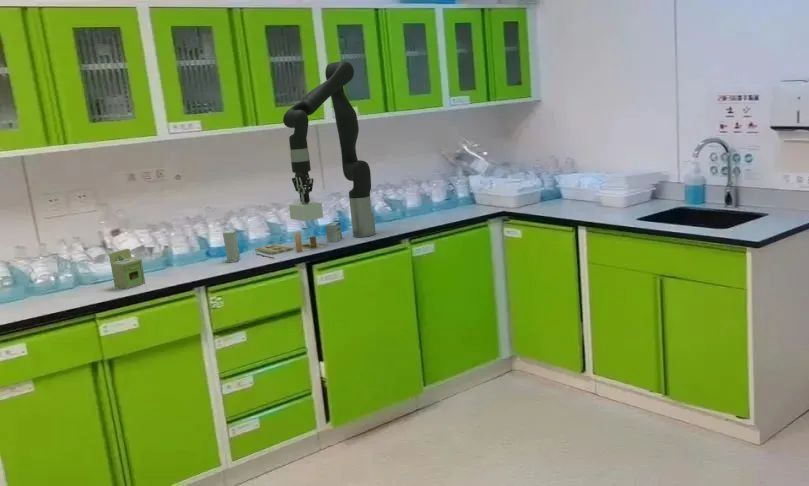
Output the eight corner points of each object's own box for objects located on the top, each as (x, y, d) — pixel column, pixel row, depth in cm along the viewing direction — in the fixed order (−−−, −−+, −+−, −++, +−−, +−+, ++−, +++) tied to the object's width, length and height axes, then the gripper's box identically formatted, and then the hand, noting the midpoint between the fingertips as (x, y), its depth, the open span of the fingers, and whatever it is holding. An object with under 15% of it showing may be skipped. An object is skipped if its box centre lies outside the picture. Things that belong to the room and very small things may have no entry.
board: (313, 245, 322) (311, 233, 321) (328, 249, 313) (326, 235, 312) (292, 250, 316) (291, 237, 315) (307, 253, 307) (306, 240, 306)
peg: (301, 254, 308) (298, 232, 306) (304, 254, 306) (301, 233, 304) (295, 255, 306) (293, 233, 304) (298, 256, 304) (296, 234, 303)
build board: (276, 249, 321) (276, 243, 320) (293, 253, 310) (293, 247, 309) (255, 254, 315) (254, 248, 314) (272, 258, 304) (271, 252, 303)
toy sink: (126, 289, 273) (120, 254, 270) (114, 288, 277) (108, 253, 275) (146, 283, 280) (141, 248, 277) (134, 282, 284) (128, 247, 281)
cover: (309, 215, 319) (306, 189, 317) (323, 217, 310) (320, 190, 308) (290, 218, 314) (287, 192, 311) (304, 221, 305) (301, 194, 303)
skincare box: (237, 261, 304) (233, 232, 301) (226, 262, 304) (222, 233, 301) (240, 258, 310) (236, 229, 307) (229, 259, 310) (225, 230, 307)
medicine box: (337, 245, 319) (335, 225, 317) (327, 245, 320) (325, 225, 318) (342, 241, 327) (340, 221, 325) (332, 241, 327) (330, 222, 326)
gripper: (317, 159, 304) (322, 201, 307) (299, 158, 315) (304, 199, 318) (301, 161, 299) (306, 204, 303) (283, 160, 310) (288, 202, 314)
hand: (305, 202), depth 311 cm, fingers closed on cover, 2 cm apart
